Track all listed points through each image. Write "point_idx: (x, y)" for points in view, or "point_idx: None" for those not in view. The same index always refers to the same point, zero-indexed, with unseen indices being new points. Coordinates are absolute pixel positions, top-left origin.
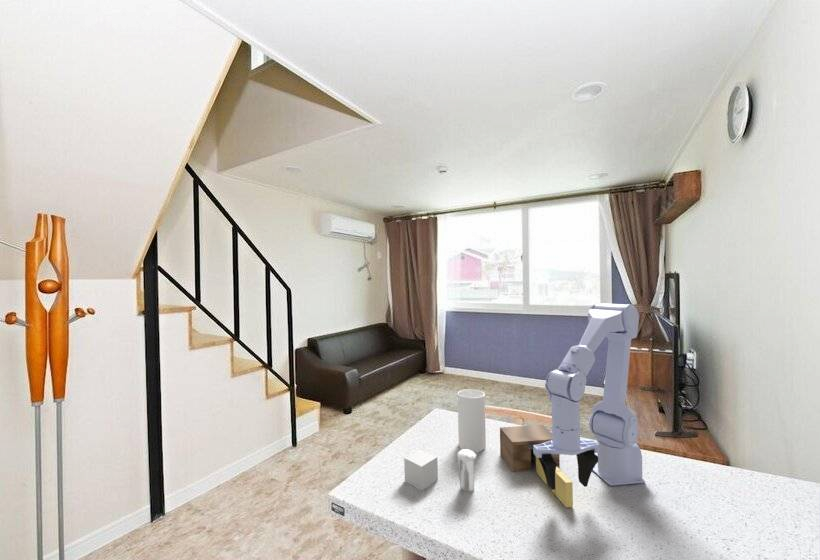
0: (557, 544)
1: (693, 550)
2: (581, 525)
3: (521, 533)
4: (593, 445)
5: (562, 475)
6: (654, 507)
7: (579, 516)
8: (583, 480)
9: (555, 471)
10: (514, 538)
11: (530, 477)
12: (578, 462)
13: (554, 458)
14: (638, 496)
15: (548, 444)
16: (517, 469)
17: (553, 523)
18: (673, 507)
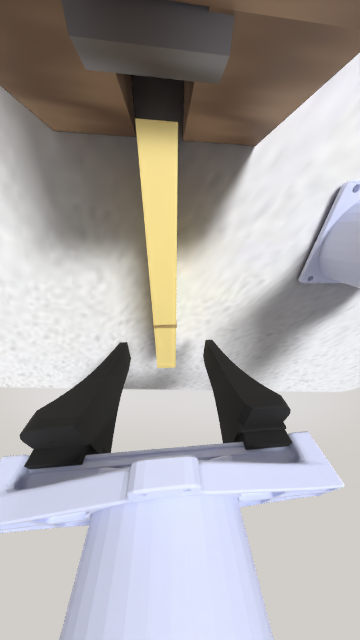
0: None
1: None
2: None
3: (66, 366)
4: (287, 497)
5: (166, 344)
6: (298, 338)
7: None
8: (206, 362)
9: (155, 326)
10: (55, 372)
11: (119, 197)
12: (223, 375)
13: (255, 121)
14: (308, 314)
15: (73, 493)
16: (70, 127)
17: None
18: (322, 340)
